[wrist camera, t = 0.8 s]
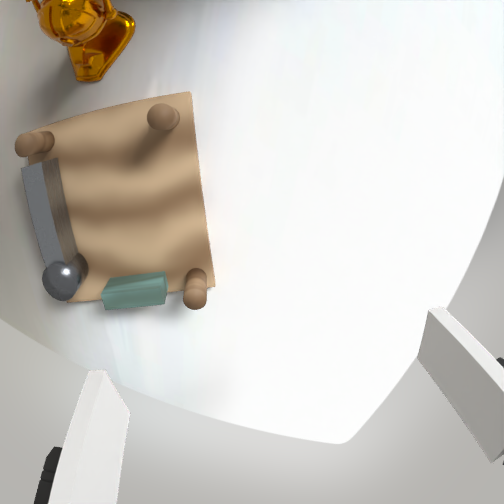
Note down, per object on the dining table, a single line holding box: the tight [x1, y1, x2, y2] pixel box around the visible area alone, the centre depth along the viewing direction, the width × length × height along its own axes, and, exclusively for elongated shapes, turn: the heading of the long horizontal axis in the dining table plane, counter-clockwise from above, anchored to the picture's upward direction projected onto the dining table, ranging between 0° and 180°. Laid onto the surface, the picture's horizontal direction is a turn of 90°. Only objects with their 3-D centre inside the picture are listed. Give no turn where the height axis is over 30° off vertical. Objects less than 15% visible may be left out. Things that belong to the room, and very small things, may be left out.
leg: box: [21, 157, 89, 301], centre depth 29 cm, size 15×4×4 cm, turn 5°
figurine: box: [26, 0, 136, 82], centre depth 19 cm, size 8×11×12 cm
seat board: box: [15, 92, 215, 310], centre depth 30 cm, size 22×20×6 cm
